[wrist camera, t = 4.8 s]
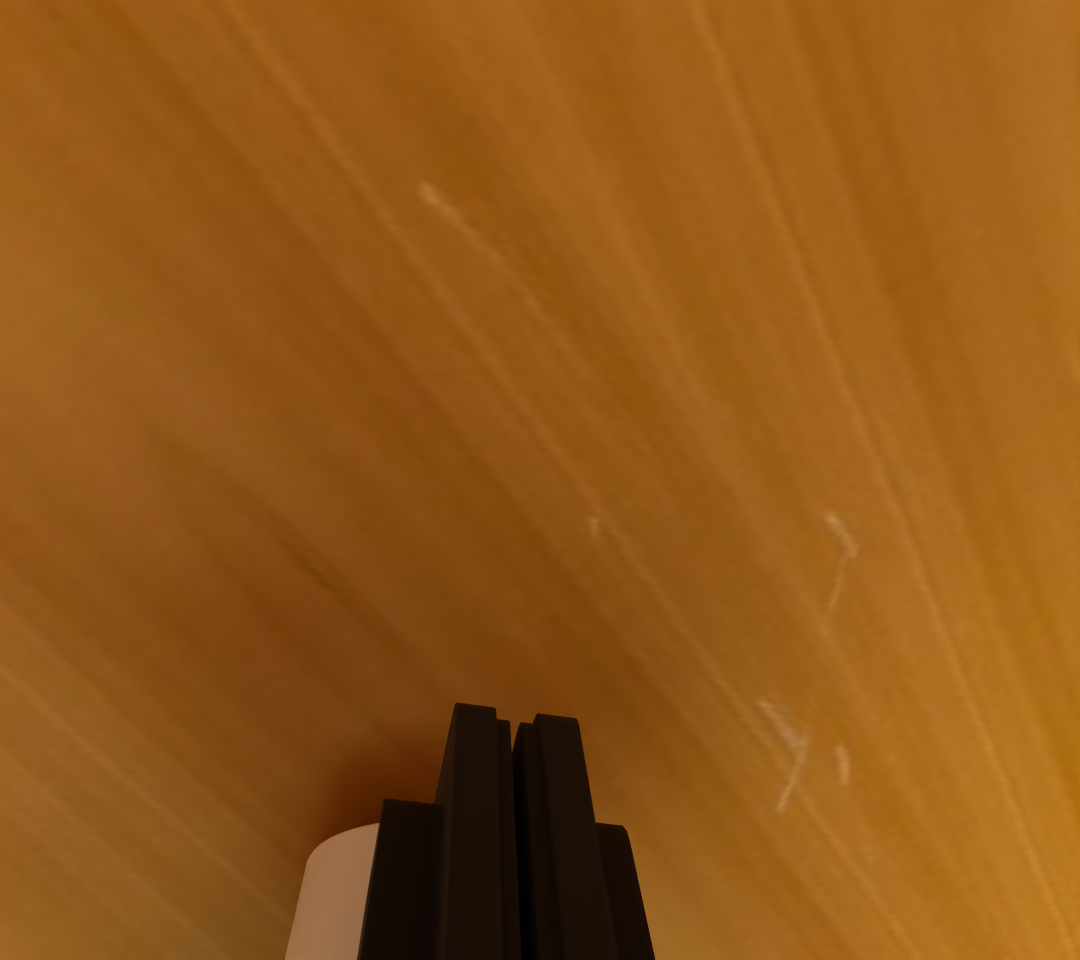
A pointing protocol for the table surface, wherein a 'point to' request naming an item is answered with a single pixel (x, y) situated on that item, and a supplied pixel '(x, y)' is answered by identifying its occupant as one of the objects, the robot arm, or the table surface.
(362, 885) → the paper roll
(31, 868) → the table surface
